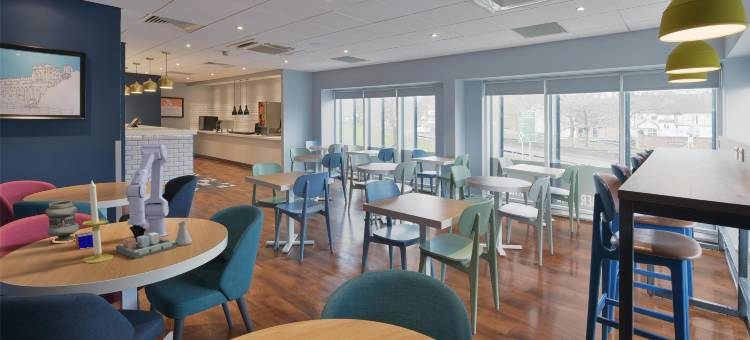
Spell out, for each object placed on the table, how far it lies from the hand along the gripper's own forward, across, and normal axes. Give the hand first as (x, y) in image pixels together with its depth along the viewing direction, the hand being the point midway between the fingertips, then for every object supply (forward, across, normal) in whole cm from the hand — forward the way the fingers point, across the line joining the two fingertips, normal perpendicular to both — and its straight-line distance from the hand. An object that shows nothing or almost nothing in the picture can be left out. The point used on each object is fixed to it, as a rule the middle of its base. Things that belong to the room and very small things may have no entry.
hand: (139, 241), depth 178 cm
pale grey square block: (+1, +2, +5) cm, 6 cm away
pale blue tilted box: (+1, +3, 0) cm, 4 cm away
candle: (+3, +2, -17) cm, 17 cm away
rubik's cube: (+3, -20, -13) cm, 24 cm away
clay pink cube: (+1, +2, -5) cm, 5 cm away
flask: (+3, +11, +14) cm, 18 cm away
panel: (+2, +6, 0) cm, 6 cm away
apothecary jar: (+3, -37, -15) cm, 40 cm away
